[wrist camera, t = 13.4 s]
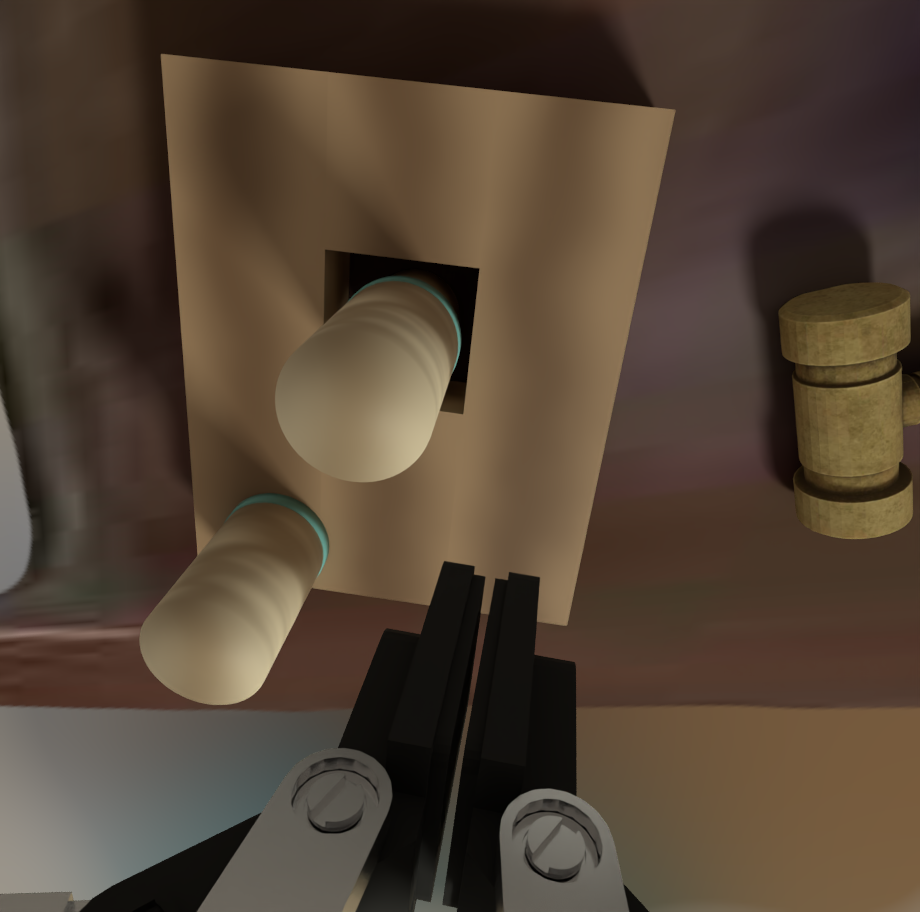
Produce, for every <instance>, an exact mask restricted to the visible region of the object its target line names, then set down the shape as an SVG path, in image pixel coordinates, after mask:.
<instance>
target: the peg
mask: <svg viewBox="0 0 920 912" xmlns="http://www.w3.org/2000/svg"><path fill="white" fill-rule="evenodd" d="M459 320H460V310H459V305H458V301H457V298H456V296H455V294H454V292H453V290H452V289H451V288H450V286H449V285H448V284H447V283H446V282H445V281H444V280H443V279H442V278H440V277H439V276H437V275H435V274H433V273H431V272H428V271H425V270H420V269H407V270H403V271H400V272H397V273H395V274H393V275H391V276H387V277H383V278H379V279H377V280H374V281H372V282H370V283H368V284H366V285H365V286H364V287H362V288H361V289H360V290H358V291H357V292H356V293H355V294H354V295H353V296H352V297H351V298H350V299H349V300H348V302H347V303H346V304H345V305H344V306H343V307H342V308H341V309H340V310H339V311H338V312H337V313H335V314H334V315H333V316H332V317H331V318H330V319H329V320H328V321H327V322H326V323H325V324H324V325H322V326H321V327H320V328H319V329H318V330H317V331H316V332H315V333H314V334H313V335H312V336H311V337H310V338H308V339H307V340H306V341H305V342H304V343H303V344H302V345H301V346H300V347H299V348H298V349H297V350H296V351H295V352H294V353H293V354H292V355H291V356H290V357H289V358H288V360H287V361H286V363H285V364H284V366H283V368H282V370H281V372H280V375H279V378H278V381H277V385H276V391H275V406H276V413H277V417H278V421H279V424H280V427H281V429H282V431H283V433H284V435H285V437H286V439H287V440H288V442H289V443H290V445H291V446H292V448H293V449H294V450H295V451H296V452H297V453H298V455H299V456H301V457H302V458H303V459H304V460H305V461H306V462H307V463H309V464H310V465H311V466H313V467H314V468H316V469H318V470H319V471H321V472H323V473H325V474H327V475H329V476H332V477H335V478H338V479H341V480H346V481H351V482H374V481H380V480H384V479H387V478H390V477H393V476H395V475H397V474H399V473H401V472H403V471H404V470H406V469H407V468H408V467H410V466H411V465H412V464H413V463H414V462H415V461H416V460H417V459H418V458H419V457H420V456H421V454H422V453H423V451H424V450H425V448H426V446H427V444H428V442H429V440H430V438H431V435H432V432H433V429H434V426H435V423H436V420H437V417H438V414H439V411H440V408H441V405H442V402H443V399H444V396H445V393H446V390H447V387H448V384H449V381H450V378H451V375H452V373H453V371H454V369H455V366H456V364H457V361H458V357H459V354H460V350H461V328H460V324H459Z"/></svg>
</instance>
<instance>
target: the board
mask: <svg viewBox="0 0 920 912" xmlns="http://www.w3.org/2000/svg"><path fill="white" fill-rule="evenodd" d="M161 65H162V78H163V92H164V105H165V119H166V132H167V146H168V159H169V173H170V186H171V200H172V213H173V227H174V241H175V254H176V268H177V281H178V295H179V308H180V322H181V335H182V349H183V362H184V376H185V389H186V403H187V416H188V430H189V443H190V457H191V471H192V484H193V498H194V511H195V525H196V538H197V552H198V556H197V557H196V559H195V560H194V561H193V562H192V563H191V565H190V566H189V567H188V568H187V570H186V571H185V572H184V573H183V574H182V576H181V577H180V578H179V579H178V581H177V582H176V583H175V584H174V585H173V587H172V588H171V589H170V590H169V592H168V593H167V594H166V595H165V597H164V598H163V599H162V600H161V601H160V603H159V604H158V605H157V606H156V608H155V609H154V610H153V611H152V612H151V614H150V615H149V616H148V617H147V619H146V620H145V622H144V624H143V625H142V628H141V631H140V638H139V639H140V649H141V653H142V656H143V658H144V660H145V662H146V664H147V666H148V667H149V669H150V670H151V672H152V673H153V674H154V675H155V676H156V678H157V679H158V680H159V681H161V682H162V683H163V684H164V685H165V686H167V687H168V688H169V689H171V690H172V691H174V692H175V693H177V694H179V695H181V696H183V697H185V698H188V699H190V700H193V701H196V702H200V703H205V704H212V705H226V704H233V703H237V702H240V701H243V700H245V699H247V698H249V697H251V696H252V695H253V694H255V693H256V692H257V691H258V690H259V689H260V687H261V686H262V684H263V682H264V680H265V678H266V677H267V675H268V673H269V671H270V669H271V667H272V665H273V663H274V661H275V659H276V657H277V655H278V653H279V651H280V649H281V647H282V645H283V643H284V641H285V639H286V637H287V635H288V633H289V631H290V629H291V627H292V625H293V623H294V621H295V619H296V617H297V615H298V613H299V611H300V609H301V607H302V605H303V603H304V601H305V599H306V597H307V596H308V594H309V592H310V590H311V588H316V589H322V590H329V591H336V592H343V593H349V594H356V595H363V596H369V597H376V598H383V599H390V600H396V601H403V602H410V603H416V604H423V605H430V603H431V600H432V597H433V593H434V590H435V587H436V584H437V581H438V577H439V574H440V571H441V568H442V565H443V562H444V561H448V562H454V563H460V564H466V565H472V566H475V571H474V575H480V576H485V586H484V593H483V600H482V607H481V613H484V614H489V611H490V605H491V600H492V594H493V589H494V583H495V578H498V579H504V580H508V575H509V572H513V573H519V574H525V575H531V576H537V577H540V586H539V599H538V612H537V622H544V623H551V624H558V625H564V626H567V623H568V618H569V613H570V609H571V604H572V599H573V594H574V590H575V585H576V580H577V575H578V571H579V566H580V561H581V556H582V552H583V547H584V542H585V537H586V533H587V528H588V523H589V518H590V514H591V509H592V504H593V499H594V495H595V490H596V485H597V480H598V476H599V471H600V466H601V461H602V457H603V452H604V447H605V442H606V438H607V433H608V428H609V423H610V419H611V414H612V409H613V404H614V400H615V395H616V390H617V385H618V381H619V376H620V371H621V366H622V362H623V357H624V352H625V347H626V343H627V338H628V333H629V328H630V324H631V319H632V314H633V309H634V305H635V300H636V295H637V290H638V286H639V281H640V276H641V271H642V267H643V262H644V257H645V252H646V248H647V243H648V238H649V233H650V229H651V224H652V219H653V214H654V210H655V205H656V200H657V195H658V191H659V186H660V181H661V176H662V172H663V167H664V162H665V157H666V153H667V148H668V143H669V138H670V134H671V129H672V124H673V120H674V115H675V110H672V109H662V108H653V107H644V106H635V105H626V104H617V103H607V102H598V101H589V100H580V99H571V98H562V97H552V96H543V95H534V94H525V93H516V92H507V91H497V90H488V89H479V88H470V87H461V86H452V85H442V84H433V83H424V82H415V81H406V80H397V79H387V78H378V77H369V76H360V75H351V74H342V73H332V72H323V71H314V70H305V69H296V68H287V67H277V66H268V65H259V64H250V63H241V62H232V61H222V60H213V59H204V58H195V57H186V56H177V55H167V54H161ZM350 253H358V254H366V255H374V256H383V257H391V258H399V259H407V260H415V261H423V262H432V263H440V264H448V265H456V266H464V267H472V268H480V269H479V278H478V287H477V296H476V305H475V314H474V323H473V332H472V341H471V350H470V359H469V368H468V377H467V383H465V382H458V381H449V384H448V387H447V390H446V393H445V396H444V399H443V402H442V405H441V408H440V411H439V414H438V417H437V420H436V423H435V426H434V429H433V432H432V435H431V438H430V440H429V442H428V444H427V446H426V448H425V450H424V451H423V453H422V454H421V456H420V457H419V458H418V459H417V460H416V461H415V462H414V463H413V464H412V465H411V466H410V467H408V468H407V469H406V470H404V471H403V472H401V473H399V474H397V475H395V476H393V477H390V478H387V479H384V480H380V481H374V482H351V481H346V480H341V479H338V478H335V477H332V476H329V475H327V474H325V473H323V472H321V471H319V470H318V469H316V468H314V467H313V466H311V465H310V464H309V463H307V462H306V461H305V460H304V459H303V458H302V457H301V456H299V455H298V453H297V452H296V451H295V450H294V449H293V448H292V446H291V445H290V443H289V442H288V440H287V439H286V437H285V435H284V433H283V431H282V429H281V427H280V424H279V421H278V417H277V413H276V406H275V391H276V385H277V381H278V378H279V375H280V372H281V370H282V368H283V366H284V364H285V363H286V361H287V360H288V358H289V357H290V356H291V355H292V354H293V353H294V352H295V351H296V350H297V349H298V348H299V347H300V346H301V345H302V344H303V343H304V342H305V341H306V340H307V339H308V338H310V337H311V336H312V335H313V334H314V333H315V332H316V331H317V330H318V329H319V328H320V327H321V326H322V325H324V324H325V323H326V322H327V321H328V320H329V319H330V318H331V317H332V316H333V315H334V314H335V313H337V312H338V311H339V310H340V309H341V308H342V307H343V306H344V305H345V304H346V303H347V302H348V300H349V273H350Z"/></svg>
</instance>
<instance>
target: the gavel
mask: <svg viewBox="0 0 920 912" xmlns="http://www.w3.org/2000/svg"><path fill="white" fill-rule="evenodd" d="M778 313H779V325H780V336H781V347H782V355H783V356H784V357H785V358H786V359H788V360H789V361H792V362H795V366H796V369H795V370H794V371H793V374H792V380H793V392H794V404H795V416H796V428H797V440H798V452H799V460H800V462H801V463H802V466H801V467H800V468H798V469H797V471H796V472H795V473H794V477H793V483H794V494H795V506H796V514H797V517H798V519H799V521H800V522H801V523H802V524H803V525H805V526H806V527H808V528H809V529H811V530H813V531H815V532H818V533H821V534H824V535H828V536H832V537H837V538H844V539H866V538H873V537H879V536H882V535H886V534H890V533H892V532H895V531H897V530H899V529H901V528H902V527H904V526H905V525H906V524H907V523H908V522H909V521H910V520H911V518H912V516H913V489H912V473H911V471H910V469H909V468H908V467H907V466H906V465H905V464H903V463H901V462H900V461H901V459H902V458H903V427H907V426H911V425H916V424H919V423H920V371H918V372H914V373H910V374H908V375H907V374H902V364H901V362H900V361H899V360H897V352H898V351H900V350H902V349H904V348H905V347H906V346H908V344H909V343H910V341H911V333H910V293H909V292H908V291H907V290H905V289H903V288H901V287H898V286H896V285H892V284H887V283H852V284H844V285H840V286H835V287H831V288H827V289H822V290H818V291H814V292H809V293H805V294H802V295H799V296H797V297H795V298H793V299H791V300H790V301H788V302H787V303H786V304H784V305H783V306H782V307H781V308H780V309H779V312H778Z"/></svg>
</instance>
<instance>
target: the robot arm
mask: <svg viewBox="0 0 920 912" xmlns="http://www.w3.org/2000/svg"><path fill="white" fill-rule="evenodd" d="M474 571H475V566H472V565H466V564H460V563H454V562H448V561H444V562H443V565H442V568H441V571H440V574H439V577H438V581H437V584H436V587H435V590H434V593H433V597H432V600H431V603H430V606H429V609H428V613H427V616H426V619H425V622H424V625H423V629H422V632H421V634H415V633H410V632H404V631H399V630H393V629H386V630H385V631H384V633H383V635H382V637H381V639H380V642H379V645H378V647H377V650H376V652H375V655H374V657H373V660H372V662H371V665H370V668H369V670H368V673H367V675H366V678H365V680H364V683H363V685H362V688H361V691H360V693H359V696H358V698H357V701H356V703H355V706H354V708H353V711H352V714H351V716H350V719H349V721H348V724H347V726H346V729H345V732H344V734H343V737H342V739H341V742H340V744H339V747H338V748H336V749H326V750H323V751H320V752H317V753H314V754H311V755H309V756H308V757H306V758H305V759H303V760H301V761H300V762H298V763H297V764H296V765H295V766H294V767H293V768H292V769H291V771H290V772H289V773H288V774H287V775H286V777H285V778H284V779H283V781H282V783H281V784H280V786H279V787H278V789H277V790H276V792H275V793H274V795H273V796H272V798H271V799H270V801H269V802H268V804H267V805H266V807H265V808H264V810H263V811H262V813H260V814H258V815H256V816H253V817H251V818H249V819H247V820H245V821H243V822H241V823H239V824H237V825H235V826H233V827H231V828H229V829H227V830H225V831H223V832H221V833H219V834H217V835H215V836H213V837H211V838H209V839H207V840H205V841H203V842H201V843H198V844H197V845H195V846H192V847H190V848H189V849H186V850H184V851H182V852H180V853H178V854H176V855H174V856H172V857H170V858H168V859H166V860H164V861H162V862H160V863H158V864H156V865H154V866H152V867H150V868H148V869H146V870H144V871H142V872H140V873H137V874H135V875H133V876H131V877H130V878H127V879H125V880H123V881H121V882H119V883H117V884H115V885H113V886H111V887H110V888H108V889H107V890H105V891H104V892H102V893H100V894H99V895H97V896H96V897H94V898H93V899H92V900H84V901H83V900H82V901H74V900H73V896H72V892H54V893H53V892H51V893H18V894H0V912H414V909H415V904H416V900H417V899H419V900H423V901H428V902H431V897H432V892H433V887H434V882H435V877H436V871H437V866H438V861H439V855H440V850H441V845H442V840H443V834H444V828H445V823H446V818H447V813H448V807H449V803H450V797H451V792H452V787H453V781H454V776H455V770H456V765H457V760H458V755H459V749H460V744H461V739H462V733H463V728H464V723H465V718H466V712H467V706H468V700H469V694H470V686H471V679H472V672H473V665H474V658H475V650H476V643H477V636H478V629H479V622H480V614H481V607H482V600H483V593H484V586H485V576H480V575H474ZM539 586H540V577H537V576H531V575H525V574H519V573H513V572H509V575H508V580H504V579H498V578H495V583H494V589H493V594H492V600H491V605H490V611H489V616H488V622H487V627H486V633H485V639H484V644H483V650H482V655H481V661H480V666H479V672H478V677H477V683H476V688H475V694H474V699H473V705H472V711H471V716H470V722H469V727H468V733H467V738H466V745H465V750H464V756H463V763H462V770H461V777H460V785H459V791H458V798H457V805H456V812H455V819H454V826H453V833H452V841H451V847H450V855H449V862H448V869H447V876H446V883H445V890H444V897H443V905H446V906H451V907H456V908H457V912H649V911H648V910H647V909H646V908H645V907H644V906H643V905H642V904H641V902H640V901H639V900H638V899H637V898H636V897H635V896H634V895H633V894H632V893H631V891H629V889H628V888H627V887H626V886H625V885H624V884H623V881H622V876H621V872H620V867H619V862H618V858H617V854H616V849H615V844H614V841H613V838H612V836H611V833H610V830H609V828H608V825H607V824H606V823H605V821H604V820H603V819H602V817H601V816H600V815H599V813H598V812H597V811H596V810H595V809H594V808H592V807H591V806H590V805H589V804H588V803H586V802H585V801H584V800H583V799H580V798H578V797H576V665H575V662H571V661H565V660H560V659H554V658H549V657H543V656H538V655H534V651H535V638H536V625H537V612H538V599H539Z"/></svg>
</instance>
